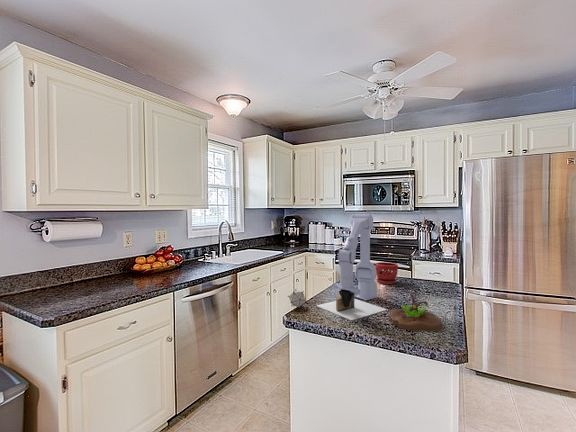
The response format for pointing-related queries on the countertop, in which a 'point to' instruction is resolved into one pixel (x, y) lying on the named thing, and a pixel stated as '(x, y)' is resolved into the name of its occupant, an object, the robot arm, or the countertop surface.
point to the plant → (415, 318)
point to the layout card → (353, 309)
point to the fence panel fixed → (351, 300)
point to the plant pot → (386, 272)
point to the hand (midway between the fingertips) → (346, 306)
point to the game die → (297, 298)
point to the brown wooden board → (341, 304)
